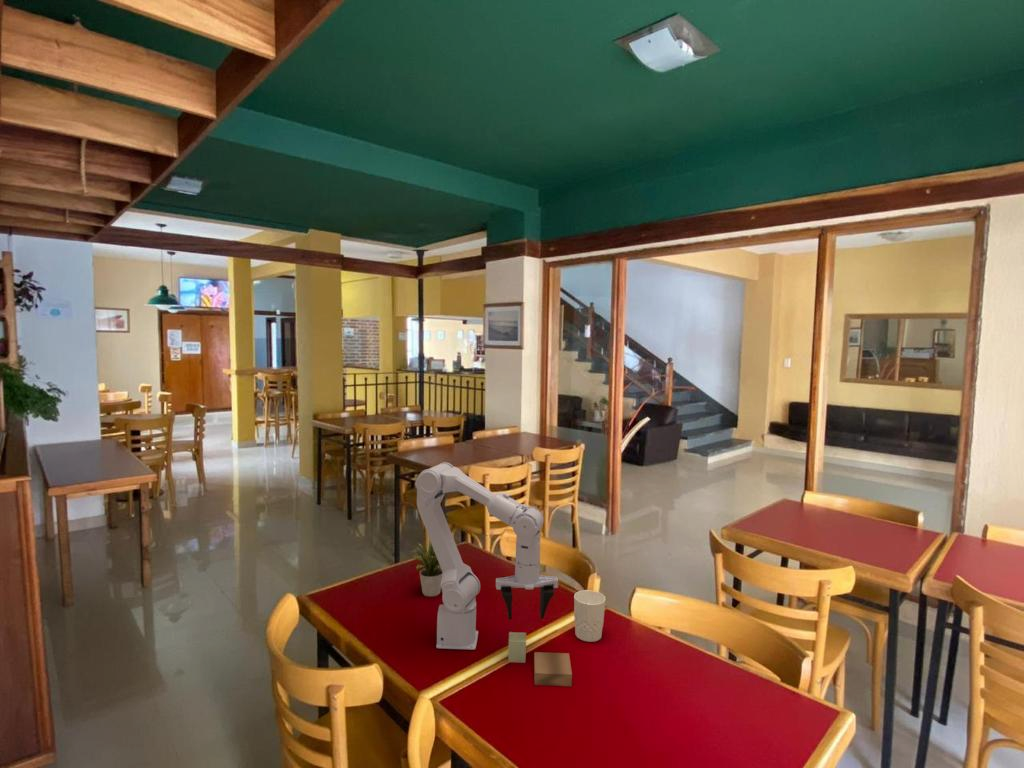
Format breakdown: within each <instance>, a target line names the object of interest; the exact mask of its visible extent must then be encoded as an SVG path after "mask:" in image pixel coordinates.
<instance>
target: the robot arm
mask: <svg viewBox="0 0 1024 768" xmlns="http://www.w3.org/2000/svg"><path fill="white" fill-rule="evenodd" d="M414 486H415V487H416V506H417V510H418V514H419V515H420V517H421V521H422V522H423V526H424V528H425V531H426V534H427V536H428V539H429V542H430V541H431V544H432V546H433V549H434V552H435V554H436V557H437V559H438V562H439V564H440V567H441V570H442V572H443V575H442V579H441V585H440V586H441V593H442V596H441V597H442V598H441V599H442V603H443V604H439V606H438V609H437V610H438V611H437V619H436V645H435V646H436V649H447V650H470V651H471V650H472V651H473V650H476V649H477V648H476V647H477V643H478V637H479V630H477V628H476V626H477V625H476V623H477V601H476V598H477V597H476V596H477V595H479V593H480V591H481V581H480V580H479V578H478V577H477V576H476V575H475V574H474V572H473V571H472V568H471V566H469V565H468V564H466V563H464V562H463V560H462V556H461V553H460V552H459V549H458V546H457V544H456V541H455V539H454V536H453V534H452V531H451V528H450V526H449V523H448V521H447V518H446V515H445V514H444V511H443V508H442V506H441V503H442V501H443V499H444V497H445V494H447V493H455V492H459V493H460V494H462V495H464V496H466V497H468V498H470V499H472V500H474V501H476V502H478V503H480V504H481V505H484V506H486V509H487V513H488V514H489V515H491V516H493V517H494V518H496V519H498V520H499V521H501V522H503V523H504V524H506V525H507V526H509V527H510V528H513V529H512V530H513V532H514V534H515V535H516V541H515V559H514V560H515V561H514V562H515V566H514V567H515V568H514V570H515V571H514V575H510V576H505V577H496V578H495V588H496V590H499V591H500V592H501V596H502V598H503V601H504V603H505V606H506V610H507V612H506V613H507V618H508V620H509V621H510V620H513V611H512V609H513V608H512V605H513V596H514V595H513V592H512V591H513V589H516V588H517V589H519V588H522V589H523V588H524V589H525V590H534V588H539V589H540V590H539V591H540V592H539V593H540V595H539V596H540V597H539V598H540V600H539V601H540V603H539V616H540V619H544V618H545V616H546V612H547V608H548V605H549V603H550V602H551V600H552V598H553V597H554V594H555V590H554V589H558V588H559V579H558V577H557V576H551V575H550V576H549V575H543V574H542V575H541V574H540V568H541V567H540V565H541V563H540V562H541V529H542V528H543V526H544V522H545V518H544V514H543V513H542V512H541V510H539V509H538V508H537V507H536V506H528V505H527V504H525V503H523V504H522V503H521V502H519V501H517V500H516V499H514V498H512V497H511V494H509V493H508V492H504V493H503V492H501V491H500V492H496V493H493V492H492V491H490V489H488V488H486V487H484V485H483V484H482V485H481V484H480V483H478V482H477V481H476V480H474V479H473V478H471V477H470V476H469V475H467V474H465V473H464V472H463V471H462V470H461V469H460V468H459V467H457V466H454V465H453V464H451V463H450V462H446V461H445V462H440V463H438V464H436V465H435V466H432V467H430V468H426V469H424V470H422V471H421V472H420V473H419V475H418V477H417V479H416V480H415V482H414ZM512 588H513V589H512Z"/></svg>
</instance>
